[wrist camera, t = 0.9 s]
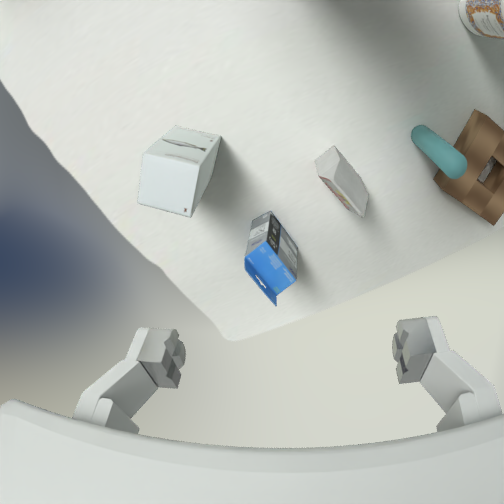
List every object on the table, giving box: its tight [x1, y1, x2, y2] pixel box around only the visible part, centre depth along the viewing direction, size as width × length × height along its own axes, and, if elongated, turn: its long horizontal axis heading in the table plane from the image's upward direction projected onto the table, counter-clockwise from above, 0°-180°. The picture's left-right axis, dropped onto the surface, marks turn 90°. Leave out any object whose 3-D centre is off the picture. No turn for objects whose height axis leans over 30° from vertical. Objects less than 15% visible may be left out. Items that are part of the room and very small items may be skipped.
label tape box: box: [244, 211, 298, 306], centre depth 50 cm, size 9×4×12 cm, turn 34°
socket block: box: [434, 109, 504, 226], centre depth 40 cm, size 14×14×4 cm
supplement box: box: [137, 125, 221, 218], centre depth 42 cm, size 7×7×13 cm
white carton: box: [315, 146, 369, 217], centre depth 42 cm, size 4×7×10 cm, turn 45°
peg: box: [411, 125, 467, 179], centre depth 36 cm, size 3×3×12 cm
